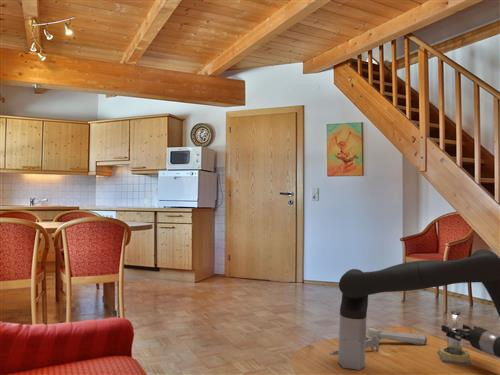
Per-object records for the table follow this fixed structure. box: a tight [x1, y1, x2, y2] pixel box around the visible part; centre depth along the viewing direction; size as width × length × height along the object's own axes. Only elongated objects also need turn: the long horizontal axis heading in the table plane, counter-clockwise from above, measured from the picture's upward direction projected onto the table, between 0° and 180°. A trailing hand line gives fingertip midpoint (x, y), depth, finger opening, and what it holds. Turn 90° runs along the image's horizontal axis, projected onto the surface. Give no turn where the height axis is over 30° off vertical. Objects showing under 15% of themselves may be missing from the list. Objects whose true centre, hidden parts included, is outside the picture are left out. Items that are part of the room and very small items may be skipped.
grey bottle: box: [446, 310, 464, 355], centre depth 154 cm, size 5×5×17 cm
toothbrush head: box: [366, 327, 428, 346], centre depth 168 cm, size 5×7×25 cm
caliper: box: [329, 335, 380, 356], centre depth 157 cm, size 20×1×6 cm, turn 105°
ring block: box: [437, 345, 473, 367], centre depth 154 cm, size 10×10×3 cm
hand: (450, 327), depth 156 cm, fingers open, 8 cm apart
